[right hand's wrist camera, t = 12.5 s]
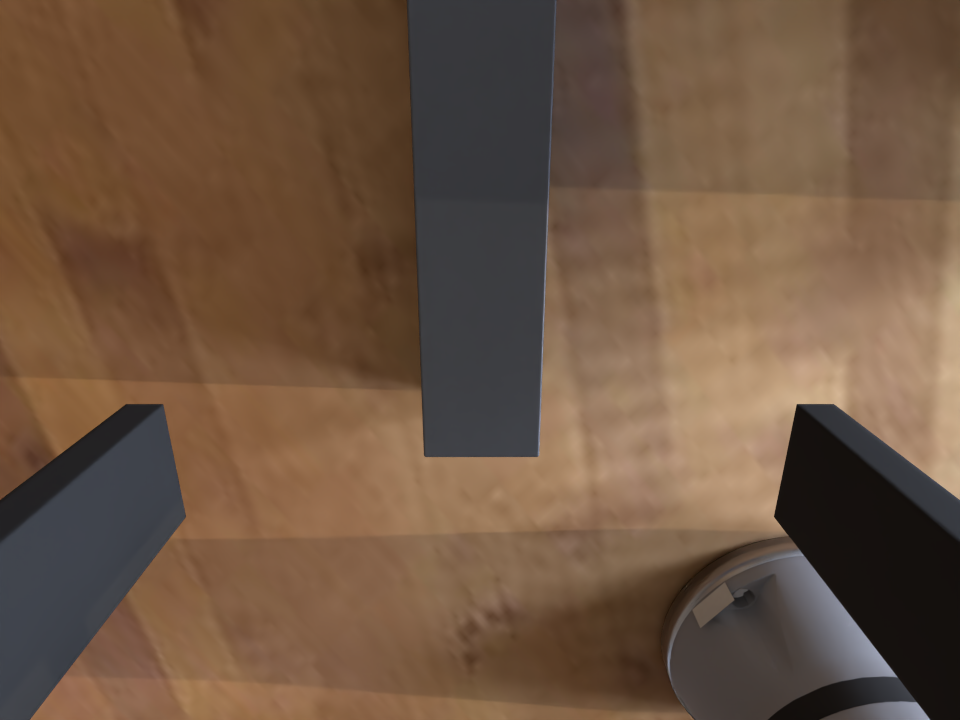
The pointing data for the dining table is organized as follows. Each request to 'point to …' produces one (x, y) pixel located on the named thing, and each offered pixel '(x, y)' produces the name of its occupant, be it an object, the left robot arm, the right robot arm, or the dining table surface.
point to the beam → (481, 218)
